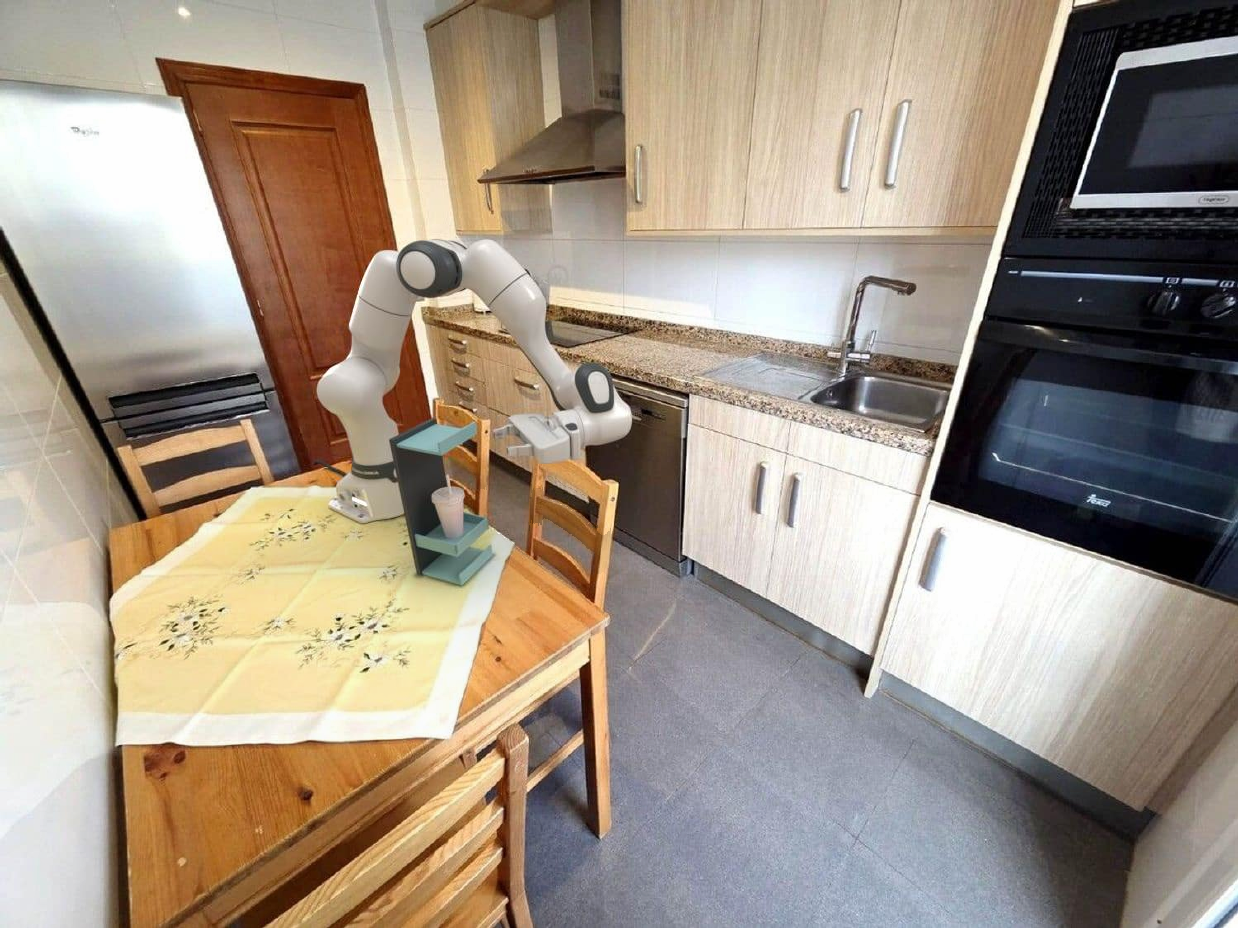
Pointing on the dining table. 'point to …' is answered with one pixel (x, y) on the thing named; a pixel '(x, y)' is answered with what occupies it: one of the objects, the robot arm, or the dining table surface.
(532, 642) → the dining table surface
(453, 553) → the rack
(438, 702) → the dining table surface
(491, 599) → the dining table surface
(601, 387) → the robot arm
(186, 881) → the dining table surface
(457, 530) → the smoothie
